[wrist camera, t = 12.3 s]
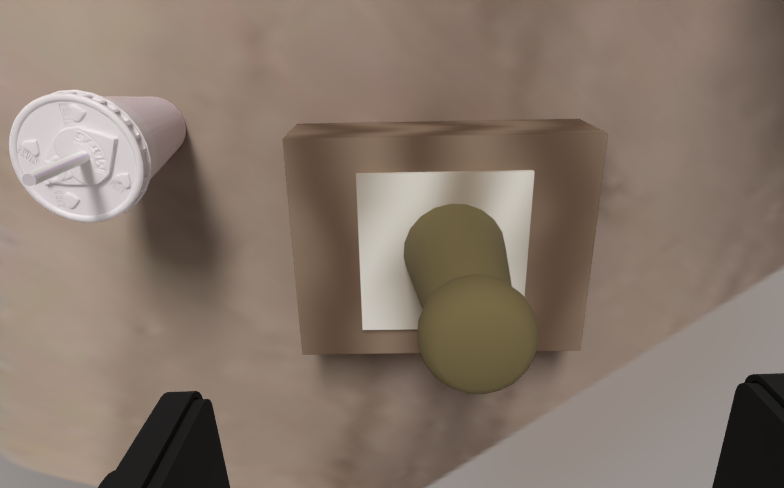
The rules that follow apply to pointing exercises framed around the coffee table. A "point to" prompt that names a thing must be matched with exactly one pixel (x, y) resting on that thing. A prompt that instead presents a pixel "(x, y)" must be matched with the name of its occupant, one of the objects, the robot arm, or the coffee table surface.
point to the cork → (468, 301)
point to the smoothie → (92, 151)
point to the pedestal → (420, 195)
